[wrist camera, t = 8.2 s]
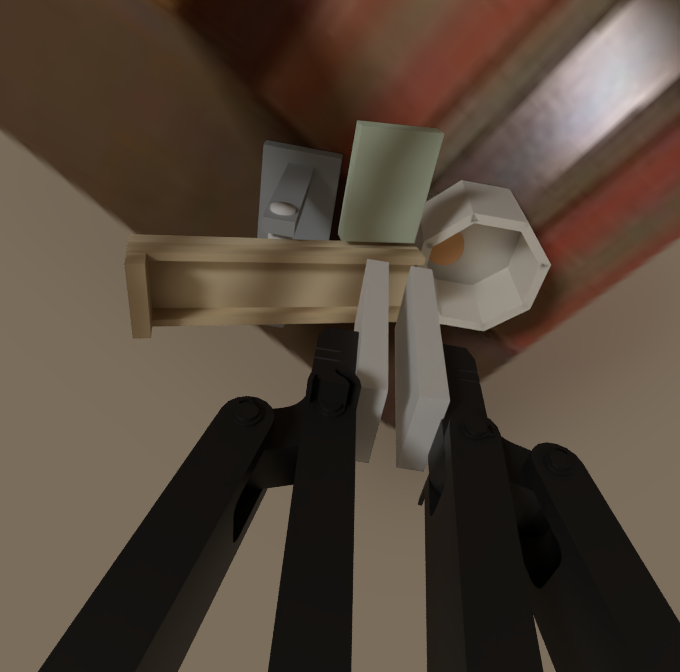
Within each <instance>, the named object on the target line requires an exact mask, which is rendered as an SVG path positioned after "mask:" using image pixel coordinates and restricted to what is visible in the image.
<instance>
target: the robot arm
mask: <svg viewBox="0 0 680 672" xmlns="http://www.w3.org/2000/svg"><path fill="white" fill-rule="evenodd" d="M388 311H389V262H384V261H378V260H372V259H367V263H366V268H365V273H364V278H363V284H362V289H361V294H360V299H359V304H358V309H357V314H356V320H355V327H354V331H351V330H345V329H338V328H332V327H327V328H326V329H325V330H324V331H323V332H322V333H321V334H320V335H319V337H318V342H317V347H316V352H315V358H314V363H313V368H312V372H311V374H310V376H309V378H308V383H307V390H306V396H305V397H304V399H303V400H301V401H300V402H299V403H297V404H295V405H293V406H290V407H284V408H277V409H272V407H271V406H270V405H269V404H268V403H267V402H266V401H263V400H261V399H259V398H256V397H250V396H245V397H237V398H235V399H232V400H230V401H228V402H227V403H226V404H225V405H224V406H223V407H222V408H221V409H220V411H219V412H218V414H217V415H216V417H215V418H214V420H213V421H212V422H211V424H210V425H209V427H208V428H207V429H206V431H205V433H204V434H203V435H202V437H201V438H200V440H199V441H198V442H197V444H196V445H195V447H194V448H193V450H192V451H191V452H190V454H189V456H188V457H187V458H186V460H185V461H184V463H183V464H182V465H181V467H180V468H179V470H178V471H177V473H176V474H175V476H174V477H173V478H172V480H171V481H170V483H169V484H168V486H167V487H166V488H165V490H164V491H163V493H162V494H161V496H160V497H159V498H158V500H157V501H156V503H155V504H154V506H153V507H152V508H151V510H150V511H149V513H148V514H147V516H146V517H145V519H144V520H143V521H142V523H141V524H140V526H139V527H138V529H137V530H136V532H135V533H134V534H133V536H132V537H131V539H130V540H129V542H128V543H127V544H126V546H125V547H124V549H123V550H122V552H121V553H120V554H119V556H118V557H117V559H116V560H115V562H114V563H113V565H112V566H111V568H110V569H109V570H108V572H107V573H106V575H105V576H104V577H103V579H102V580H101V582H100V583H99V585H98V586H97V588H96V589H95V590H94V592H93V593H92V595H91V596H90V598H89V599H88V601H87V602H86V603H85V605H84V606H83V608H82V609H81V611H80V612H79V613H78V615H77V616H76V618H75V619H74V621H73V622H72V623H71V625H70V626H69V628H68V629H67V631H66V632H65V634H64V635H63V636H62V638H61V639H60V641H59V642H58V644H57V645H56V647H55V648H54V649H53V651H52V652H51V654H50V655H49V657H48V658H47V659H46V661H45V663H44V664H43V665H42V667H41V668H40V670H39V671H38V672H178V670H179V668H180V666H181V664H182V662H183V660H184V658H185V656H186V654H187V652H188V650H189V648H190V646H191V643H192V641H193V639H194V638H195V636H196V633H197V631H198V629H199V627H200V625H201V623H202V621H203V619H204V617H205V615H206V613H207V611H208V609H209V607H210V605H211V603H212V601H213V599H214V597H215V595H216V593H217V591H218V588H219V587H220V585H221V583H222V581H223V579H224V577H225V574H226V572H227V570H228V568H229V566H230V564H231V562H232V560H233V558H234V556H235V554H236V552H237V550H238V548H239V546H240V544H241V542H242V540H243V537H244V536H245V534H246V532H247V529H248V528H249V526H250V523H251V521H252V519H253V517H254V515H255V513H256V511H257V509H258V507H259V505H260V503H261V501H262V499H263V497H264V495H265V493H266V491H267V488H272V487H279V486H287V485H293V493H292V500H291V507H290V515H289V522H288V530H287V537H286V543H285V551H284V558H283V565H282V573H281V580H280V587H279V595H278V602H277V609H276V618H275V625H274V631H273V639H272V646H271V653H270V661H269V668H268V672H351V656H352V655H351V654H352V604H353V553H354V502H355V501H354V499H355V461H359V462H365V463H369V459H370V456H371V452H372V448H373V444H374V440H375V437H376V433H377V430H378V426H379V422H380V419H381V415H382V411H383V407H384V404H385V400H386V396H387V393H388ZM395 400H396V467H397V468H403V469H410V470H416V471H422V472H423V471H424V469H425V466H426V463H427V461H428V465H429V475H428V477H427V480H426V482H425V485H424V488H423V490H422V493H421V496H420V498H419V502H418V505H422V504H423V501H424V499H425V555H426V620H427V621H426V622H427V623H426V624H427V672H543V667H542V661H541V656H540V650H539V645H538V639H537V634H536V628H535V622H534V618H535V620H536V623H537V625H538V628H539V630H540V633H541V635H542V638H543V640H544V642H545V645H546V648H547V650H548V653H549V655H550V658H551V660H552V663H553V665H554V668H555V670H556V672H680V622H679V620H678V619H677V617H676V616H675V614H674V613H673V611H672V609H671V607H670V606H669V604H668V603H667V601H666V599H665V598H664V596H663V594H662V593H661V591H660V589H659V588H658V586H657V585H656V583H655V581H654V580H653V578H652V576H651V575H650V573H649V571H648V570H647V568H646V566H645V565H644V563H643V562H642V560H641V558H640V556H639V555H638V553H637V552H636V550H635V548H634V547H633V545H632V543H631V542H630V540H629V538H628V537H627V535H626V534H625V532H624V530H623V529H622V527H621V525H620V524H619V522H618V520H617V519H616V517H615V515H614V514H613V512H612V511H611V509H610V508H609V506H608V504H607V502H606V501H605V499H604V497H603V496H602V494H601V492H600V491H599V489H598V488H597V486H596V484H595V483H594V481H593V479H592V478H591V476H590V474H589V473H588V471H587V470H586V468H585V466H584V464H583V463H582V462H581V461H580V460H579V458H578V457H577V456H576V455H575V454H574V453H572V452H571V451H570V450H568V449H567V448H564V447H562V446H560V445H558V444H553V443H542V444H538V445H537V446H535V447H534V448H533V449H532V451H530V450H528V449H526V448H523V447H521V446H518V445H516V444H514V443H511V442H509V441H508V440H506V439H504V438H503V437H501V434H500V432H499V430H498V427H497V426H496V425H495V424H494V423H493V422H492V421H491V420H490V419H489V418H487V414H486V409H485V405H484V400H483V396H482V391H481V386H480V384H479V377H478V374H477V367H476V363H475V359H474V358H473V357H472V355H471V354H470V353H469V351H468V350H467V349H466V348H462V347H456V346H450V345H444V344H442V338H441V330H440V323H439V316H438V308H437V301H436V294H435V286H434V279H433V272H432V269H426V268H420V267H414V266H411V267H410V271H409V275H408V279H407V283H406V287H405V290H404V294H403V298H402V302H401V306H400V310H399V314H398V318H397V322H396V326H395ZM533 615H534V617H533Z"/></svg>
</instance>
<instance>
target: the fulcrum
mask: <svg viewBox="0 0 680 672" xmlns="http://www.w3.org/2000/svg"><path fill="white" fill-rule="evenodd" d="M342 157H343V154H339V153H334V152H328V151H323V150H318V149H312V148H307V147H301V146H296V145H291V144H285V143H280V142H275V141H269V140H266V142H265V143H264V146H263V161H262V176H261V191H260V206H259V221H258V236H257V238H268V239H300V240H329V238H330V232H331V225H332V219H333V213H334V207H335V201H336V194H337V188H338V182H339V176H340V170H341V164H342ZM263 325H269V326H275V327H281V328H283V327H284V324H263Z"/></svg>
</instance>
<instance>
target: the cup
mask: <svg viewBox="0 0 680 672" xmlns="http://www.w3.org/2000/svg"><path fill="white" fill-rule="evenodd" d="M458 232H460V233H461V234H462V236H463V239H464V250H463V253H462V255H461V256H460V258H459V259H458V260H457V261H455V262H454V263H452V264H449V265H438V264H435V263H433V262H432V261H430V260H429V256H430V253H431V250H432V247H434V246H435V245H437V244H439V243H441V242H442V241H444V240H446V239H447V238H449V237H451V236H453V235H454V234H456V233H458ZM414 244H415V245H416V246H417V248H418V249H419V250H420V251H421V252H422V254H423V255H424V256H425V258H426V260H425V264H424V265H415V267H420V268H426V269H432V272H433V279H434V286H435V294H436V301H437V308H438V316H439V323H440V324H444V325H450V326H456V327H462V328H468V329H473V330H479V331H485V330H487V329H490V328H492V327H494V326H496V325H498V324H500V323H502V322H504V321H506V320H508V319H510V318H513V317H515V316H517V315H519V314H521V313H523V312H525V311H527V310H529V309H530V308H531V306H532V304H533V302H534V300H535V298H536V296H537V294H538V291H539V289H540V287H541V285H542V283H543V281H544V279H545V277H546V274H547V272H548V270H549V268H550V266H551V264H550V262H549V260H548V258H547V256H546V254H545V253H544V251H543V249H542V247H541V245H540V243H539V241H538V239H537V238H536V236H535V234H534V232H533V230H532V228H531V226H530V225H529V223H528V221H527V219H526V217H525V216H524V214H523V212H522V210H521V208H520V207H519V205H518V203H517V201H516V199H515V198H514V196H513V194H512V192H511V191H510V189H506V188H501V187H496V186H490V185H485V184H479V183H474V182H469V181H463V180H461V181H459V182H458V183H456V184H455V185H453V186H451V187H450V188H448V189H446V190H445V191H443V192H442V193H440V194H438V195H437V196H435V197H434V198H432V199H430V200H429V201H427V202H425V206H424V209H423V213H422V217H421V220H420V224H419V228H418V231H417V235H416V238H415V242H414Z"/></svg>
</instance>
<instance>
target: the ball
mask: <svg viewBox="0 0 680 672" xmlns="http://www.w3.org/2000/svg"><path fill="white" fill-rule="evenodd" d="M463 250H464V239H463V236H462V234H461V233H460V232H458V233H456V234H454V235H453V236H451V237H449V238H447V239H446V240H444V241H442V242H441V243H439V244H437V245H435V246H434V247H432V250H431V253H430V256H429V260H430V261H432V262H433V263H435V264H438V265H449V264H452V263H454V262H455V261H457V260H458V259H459V258H460V256H461V255H462V253H463Z"/></svg>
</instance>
